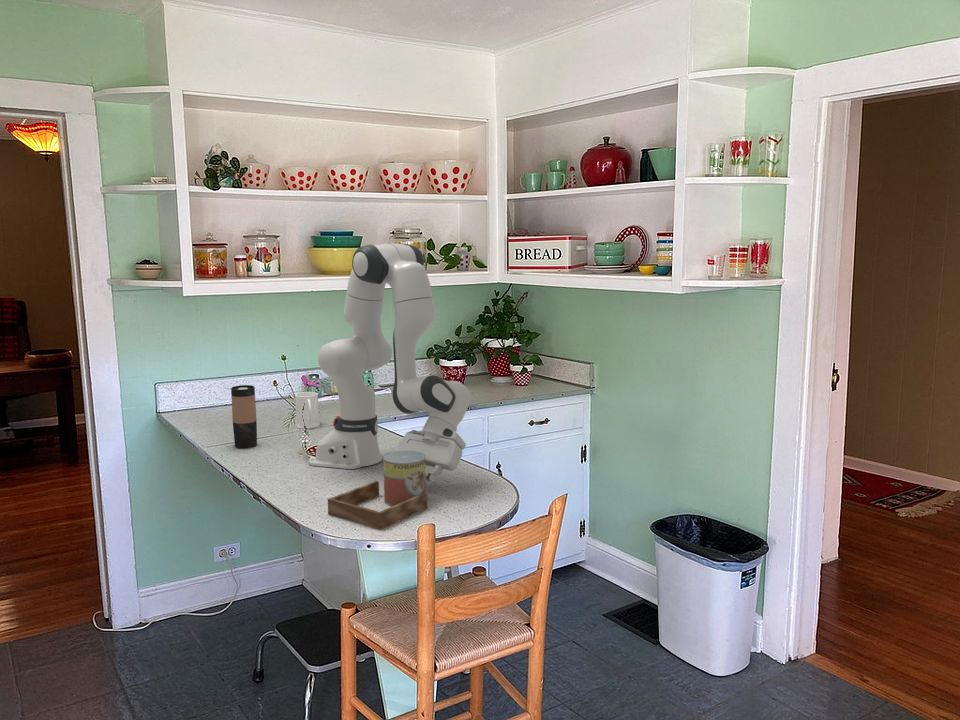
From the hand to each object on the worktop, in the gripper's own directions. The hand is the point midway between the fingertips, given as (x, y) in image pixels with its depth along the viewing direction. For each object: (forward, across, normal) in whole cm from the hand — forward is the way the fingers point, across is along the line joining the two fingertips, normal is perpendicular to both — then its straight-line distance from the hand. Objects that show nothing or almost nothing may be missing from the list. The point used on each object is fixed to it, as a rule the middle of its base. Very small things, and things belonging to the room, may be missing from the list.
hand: (415, 477), depth 219 cm
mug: (-20, -80, +28) cm, 87 cm away
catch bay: (+14, 0, -7) cm, 16 cm away
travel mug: (0, -78, +7) cm, 79 cm away
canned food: (+7, 0, +1) cm, 7 cm away
